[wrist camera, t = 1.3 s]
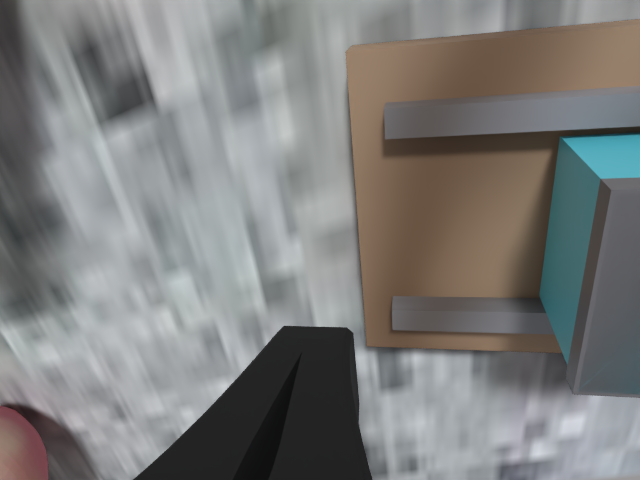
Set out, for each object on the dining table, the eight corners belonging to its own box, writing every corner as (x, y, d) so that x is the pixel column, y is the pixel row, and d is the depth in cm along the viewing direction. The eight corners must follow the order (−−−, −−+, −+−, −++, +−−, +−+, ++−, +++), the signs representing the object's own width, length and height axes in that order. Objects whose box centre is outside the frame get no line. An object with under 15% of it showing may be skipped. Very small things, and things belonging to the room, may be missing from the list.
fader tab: (695, 125, 12) (813, 184, 8) (650, 299, 14) (728, 402, 11) (556, 132, 12) (611, 189, 9) (535, 298, 15) (572, 394, 11)
